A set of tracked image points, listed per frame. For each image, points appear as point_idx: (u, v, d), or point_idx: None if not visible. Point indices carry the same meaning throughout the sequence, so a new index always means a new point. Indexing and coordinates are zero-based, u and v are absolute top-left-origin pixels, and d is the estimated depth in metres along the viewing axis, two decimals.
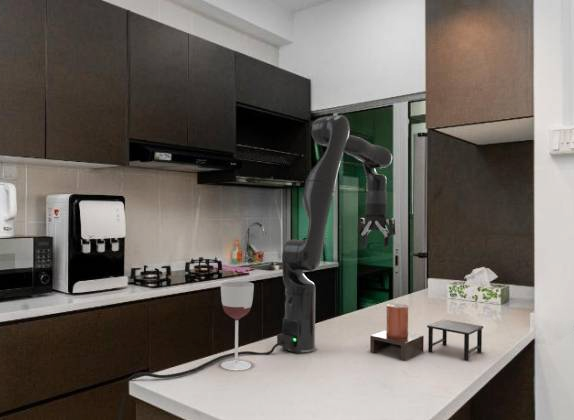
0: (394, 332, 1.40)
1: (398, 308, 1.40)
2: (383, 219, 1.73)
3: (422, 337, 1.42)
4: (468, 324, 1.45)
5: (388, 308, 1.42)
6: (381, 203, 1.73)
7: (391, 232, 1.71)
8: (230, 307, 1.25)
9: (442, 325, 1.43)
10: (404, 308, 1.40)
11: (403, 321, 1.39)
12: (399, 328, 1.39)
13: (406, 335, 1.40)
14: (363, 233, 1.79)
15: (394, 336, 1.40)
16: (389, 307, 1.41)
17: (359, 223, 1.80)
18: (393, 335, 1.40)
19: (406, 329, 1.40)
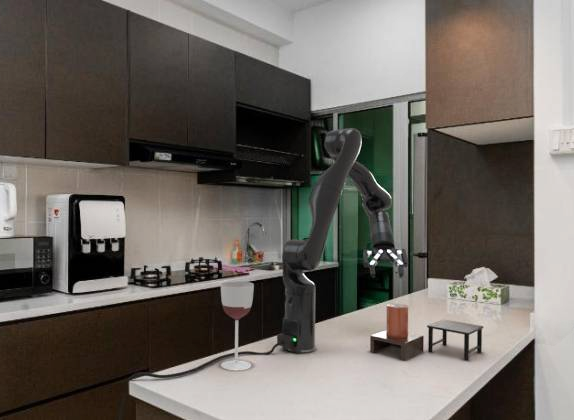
0: (394, 332, 1.40)
1: (398, 308, 1.40)
2: (395, 249, 1.61)
3: (422, 337, 1.42)
4: (468, 324, 1.45)
5: (388, 308, 1.42)
6: (391, 234, 1.64)
7: (407, 260, 1.58)
8: (230, 307, 1.25)
9: (442, 325, 1.43)
10: (404, 308, 1.40)
11: (403, 321, 1.39)
12: (399, 328, 1.39)
13: (406, 335, 1.40)
14: (372, 262, 1.59)
15: (394, 336, 1.40)
16: (389, 307, 1.41)
17: (365, 254, 1.61)
18: (393, 335, 1.40)
19: (406, 329, 1.40)
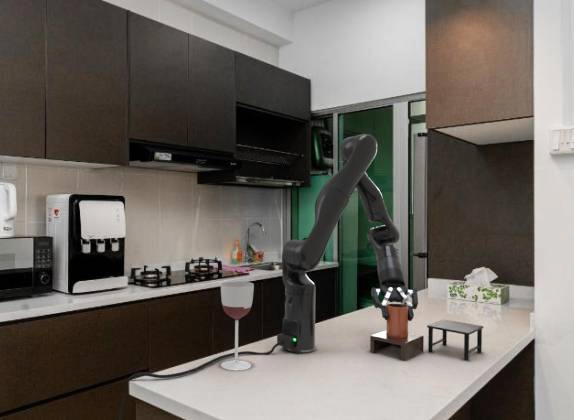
0: (394, 332, 1.40)
1: (398, 308, 1.40)
2: (405, 288, 1.47)
3: (422, 337, 1.42)
4: (468, 324, 1.45)
5: (388, 308, 1.42)
6: (401, 271, 1.51)
7: (417, 302, 1.43)
8: (230, 307, 1.25)
9: (442, 325, 1.43)
10: (404, 308, 1.40)
11: (403, 321, 1.39)
12: (399, 328, 1.39)
13: (406, 335, 1.40)
14: (384, 303, 1.44)
15: (394, 336, 1.40)
16: (389, 307, 1.41)
17: (375, 292, 1.46)
18: (393, 335, 1.40)
19: (406, 329, 1.40)
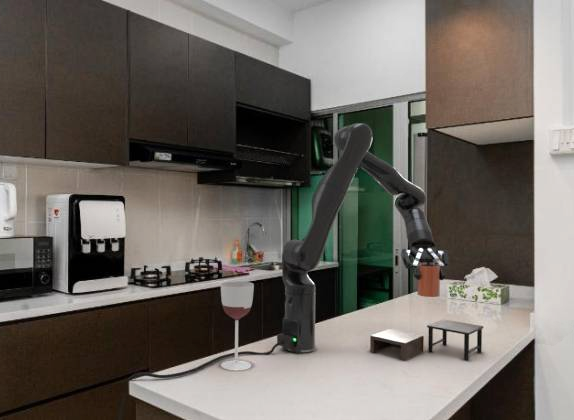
0: (426, 291, 1.40)
1: (430, 267, 1.40)
2: (436, 249, 1.48)
3: (422, 337, 1.42)
4: (468, 324, 1.45)
5: (420, 268, 1.42)
6: (431, 233, 1.51)
7: (448, 262, 1.44)
8: (230, 307, 1.25)
9: (442, 325, 1.43)
10: (436, 267, 1.40)
11: (435, 280, 1.40)
12: (431, 287, 1.40)
13: (438, 294, 1.41)
14: (416, 263, 1.44)
15: (426, 295, 1.40)
16: (421, 266, 1.42)
17: (405, 253, 1.47)
18: (425, 294, 1.41)
19: (438, 288, 1.41)
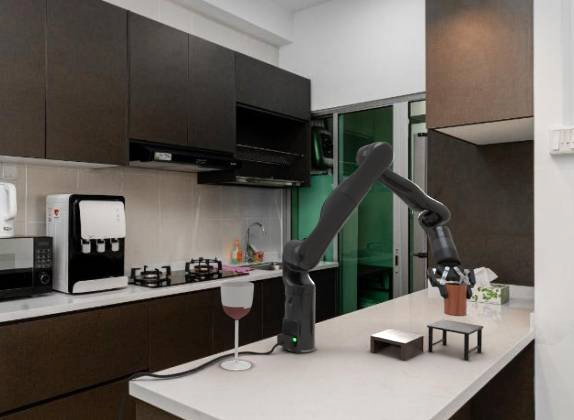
0: (453, 310, 1.41)
1: (457, 286, 1.40)
2: (462, 267, 1.48)
3: (422, 337, 1.42)
4: (468, 324, 1.45)
5: (446, 287, 1.42)
6: (456, 251, 1.51)
7: (474, 281, 1.44)
8: (230, 307, 1.25)
9: (442, 325, 1.43)
10: (463, 286, 1.40)
11: (462, 300, 1.40)
12: (458, 306, 1.40)
13: (465, 313, 1.41)
14: (442, 282, 1.44)
15: (453, 314, 1.41)
16: (448, 286, 1.42)
17: (431, 272, 1.47)
18: (452, 313, 1.41)
19: (465, 307, 1.41)
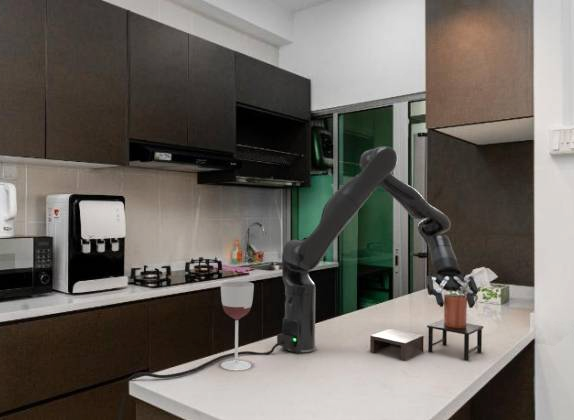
0: (453, 322, 1.41)
1: (457, 298, 1.40)
2: (461, 277, 1.48)
3: (422, 337, 1.42)
4: (468, 324, 1.45)
5: (446, 298, 1.42)
6: (456, 260, 1.51)
7: (476, 289, 1.44)
8: (230, 307, 1.25)
9: (442, 325, 1.43)
10: (463, 298, 1.40)
11: (462, 312, 1.40)
12: (458, 318, 1.40)
13: (465, 325, 1.41)
14: (439, 290, 1.45)
15: (453, 326, 1.41)
16: (447, 297, 1.42)
17: (430, 280, 1.47)
18: (452, 325, 1.41)
19: (465, 319, 1.41)
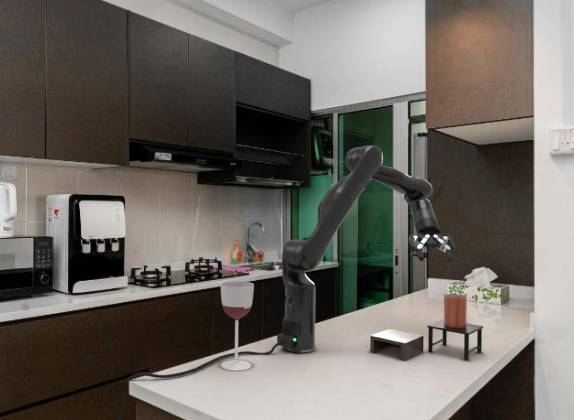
0: (453, 322, 1.41)
1: (457, 298, 1.40)
2: (441, 235, 1.61)
3: (422, 337, 1.42)
4: (468, 324, 1.45)
5: (446, 298, 1.42)
6: None
7: (454, 245, 1.57)
8: (230, 307, 1.25)
9: (442, 325, 1.43)
10: (463, 298, 1.40)
11: (462, 312, 1.40)
12: (458, 318, 1.40)
13: (465, 325, 1.41)
14: (420, 246, 1.58)
15: (453, 326, 1.41)
16: (447, 297, 1.42)
17: (412, 238, 1.61)
18: (452, 325, 1.41)
19: (465, 319, 1.41)
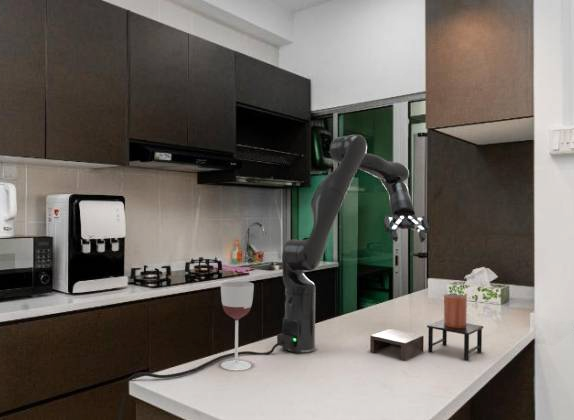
0: (453, 322, 1.41)
1: (457, 298, 1.40)
2: (415, 216, 1.65)
3: (422, 337, 1.42)
4: (468, 324, 1.45)
5: (446, 298, 1.42)
6: (411, 203, 1.68)
7: (427, 226, 1.61)
8: (230, 307, 1.25)
9: (442, 325, 1.43)
10: (463, 298, 1.40)
11: (462, 312, 1.40)
12: (458, 318, 1.40)
13: (465, 325, 1.41)
14: (394, 227, 1.62)
15: (453, 326, 1.41)
16: (447, 297, 1.42)
17: (387, 219, 1.64)
18: (452, 325, 1.41)
19: (465, 319, 1.41)
